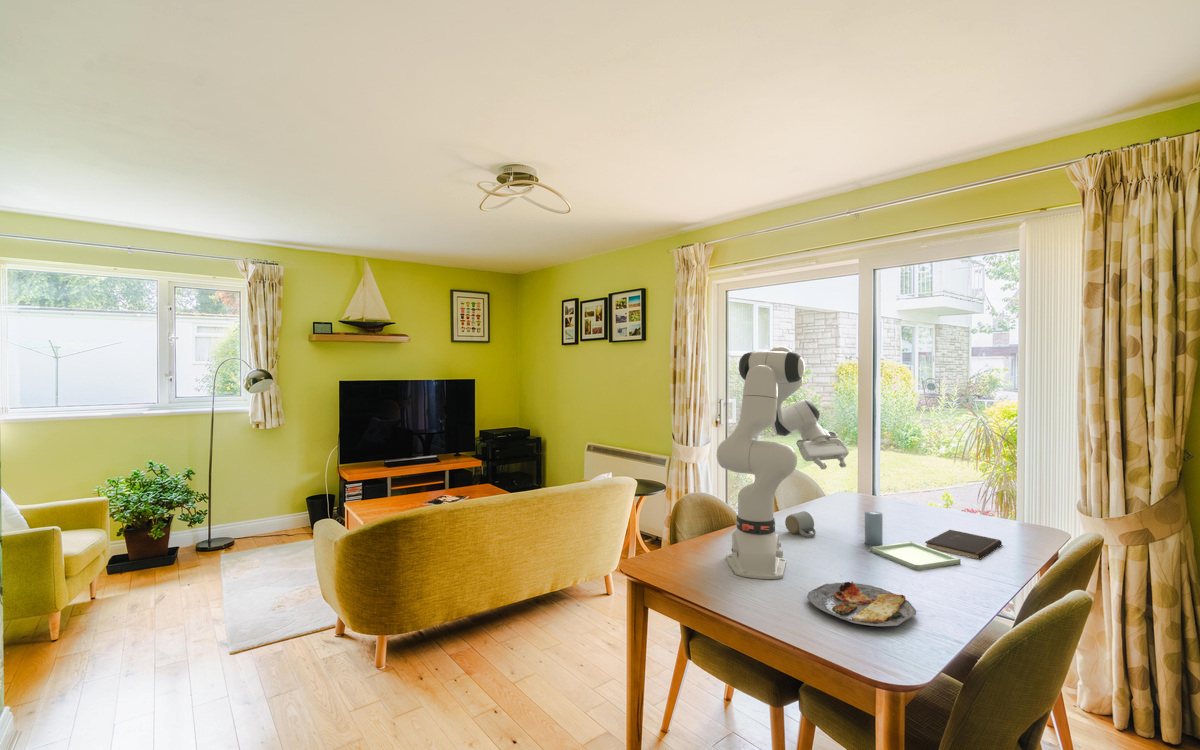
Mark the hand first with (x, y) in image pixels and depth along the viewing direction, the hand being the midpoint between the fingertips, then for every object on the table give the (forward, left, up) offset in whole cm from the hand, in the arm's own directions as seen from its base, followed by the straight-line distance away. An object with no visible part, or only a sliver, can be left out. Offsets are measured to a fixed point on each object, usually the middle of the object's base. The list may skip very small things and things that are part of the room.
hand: (834, 467), depth 202 cm
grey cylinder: (-13, -10, -24) cm, 29 cm away
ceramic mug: (-5, +12, -25) cm, 28 cm away
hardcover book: (-9, -40, -25) cm, 48 cm away
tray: (-25, -19, -24) cm, 40 cm away
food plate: (-69, +8, -25) cm, 74 cm away
